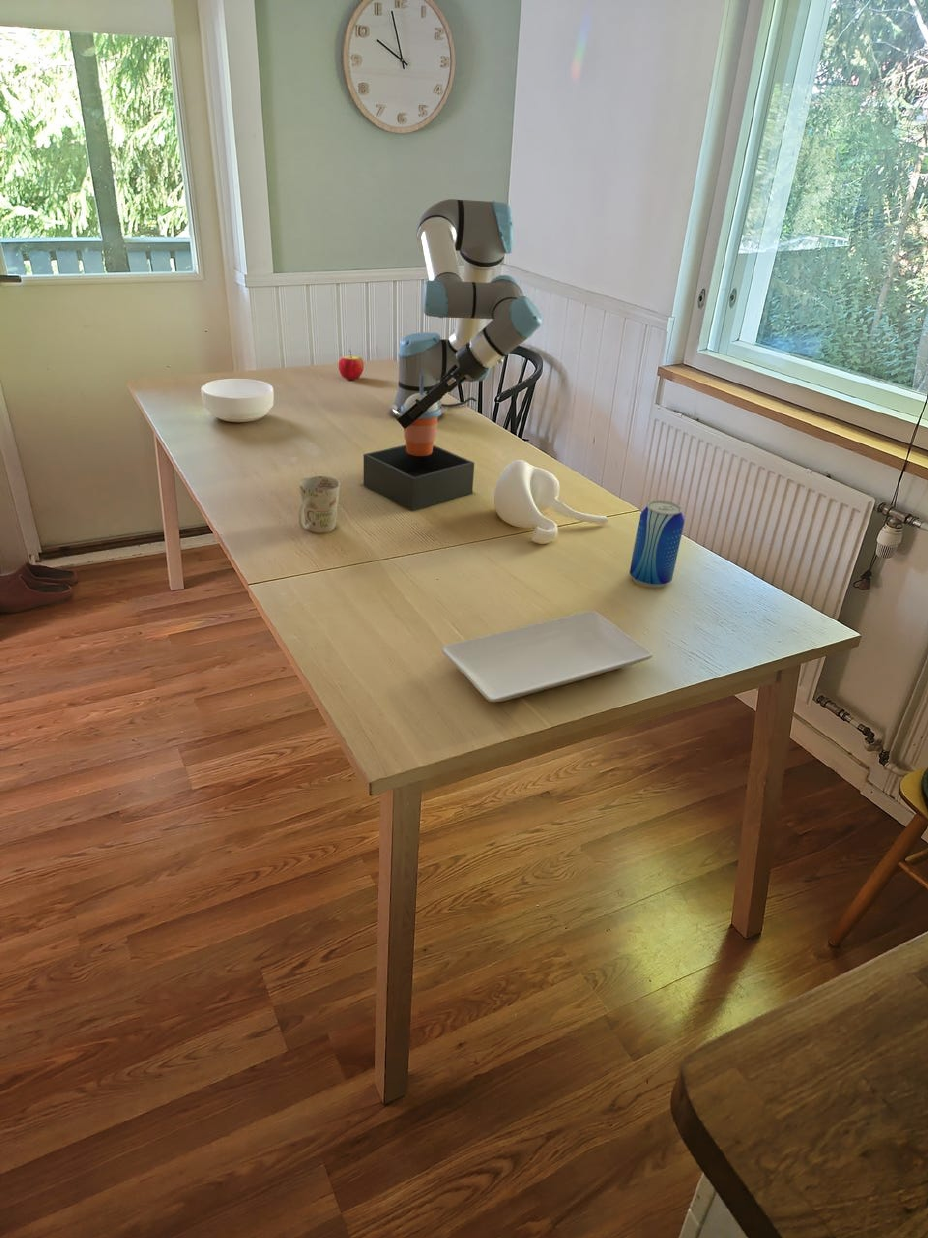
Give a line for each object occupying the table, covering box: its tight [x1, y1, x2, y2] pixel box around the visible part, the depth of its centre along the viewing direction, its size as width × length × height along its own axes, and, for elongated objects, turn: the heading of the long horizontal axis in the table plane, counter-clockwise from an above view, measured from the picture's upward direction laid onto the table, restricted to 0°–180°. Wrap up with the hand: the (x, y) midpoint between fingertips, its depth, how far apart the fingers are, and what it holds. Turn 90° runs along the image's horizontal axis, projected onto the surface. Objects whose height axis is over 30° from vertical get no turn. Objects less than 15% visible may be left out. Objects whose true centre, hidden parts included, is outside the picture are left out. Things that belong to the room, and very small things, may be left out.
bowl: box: [200, 378, 275, 423], centre depth 238 cm, size 20×20×8 cm
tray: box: [441, 610, 653, 703], centre depth 137 cm, size 17×32×4 cm, turn 119°
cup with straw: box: [401, 374, 441, 456], centre depth 192 cm, size 9×9×18 cm
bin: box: [363, 444, 475, 511], centre depth 200 cm, size 19×19×8 cm
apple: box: [337, 349, 365, 381], centre depth 280 cm, size 8×8×10 cm
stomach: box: [493, 459, 609, 545], centre depth 188 cm, size 23×13×24 cm
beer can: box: [629, 499, 685, 590], centre depth 164 cm, size 8×8×16 cm
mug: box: [298, 475, 341, 534], centre depth 175 cm, size 8×13×10 cm, turn 161°
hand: (407, 417), depth 193 cm, fingers closed on cup with straw, 9 cm apart
